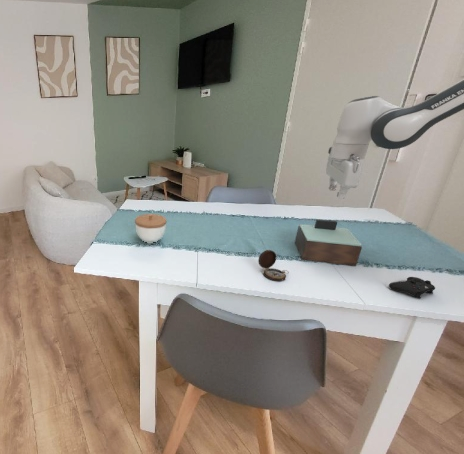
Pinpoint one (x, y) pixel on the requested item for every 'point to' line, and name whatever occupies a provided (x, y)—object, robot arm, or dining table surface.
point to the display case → (326, 251)
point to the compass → (266, 262)
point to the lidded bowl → (150, 227)
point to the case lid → (329, 233)
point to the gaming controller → (413, 286)
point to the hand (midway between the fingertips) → (335, 193)
